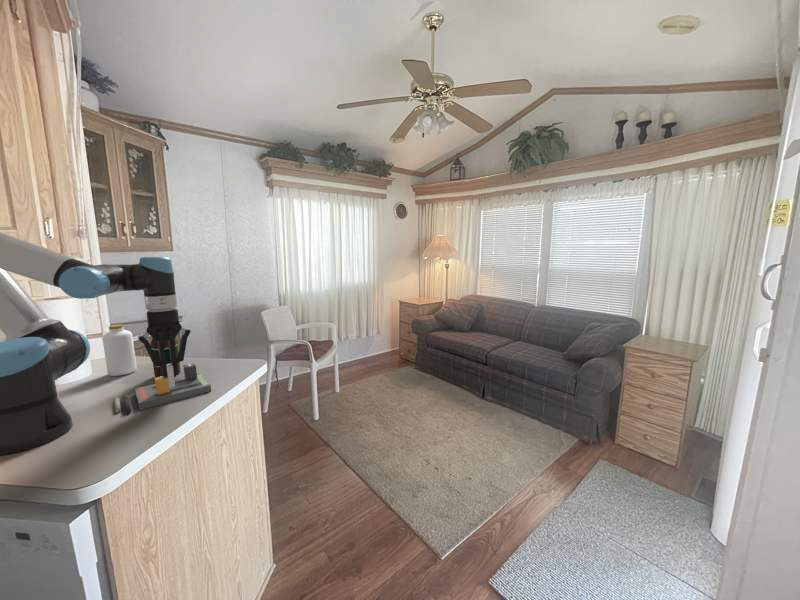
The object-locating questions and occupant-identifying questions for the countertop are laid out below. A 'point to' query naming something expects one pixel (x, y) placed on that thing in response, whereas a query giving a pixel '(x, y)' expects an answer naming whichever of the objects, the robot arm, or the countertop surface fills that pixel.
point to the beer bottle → (167, 353)
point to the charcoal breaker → (190, 371)
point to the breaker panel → (171, 391)
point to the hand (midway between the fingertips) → (171, 385)
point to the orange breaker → (162, 385)
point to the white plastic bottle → (119, 351)
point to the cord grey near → (117, 405)
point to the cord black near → (126, 405)
